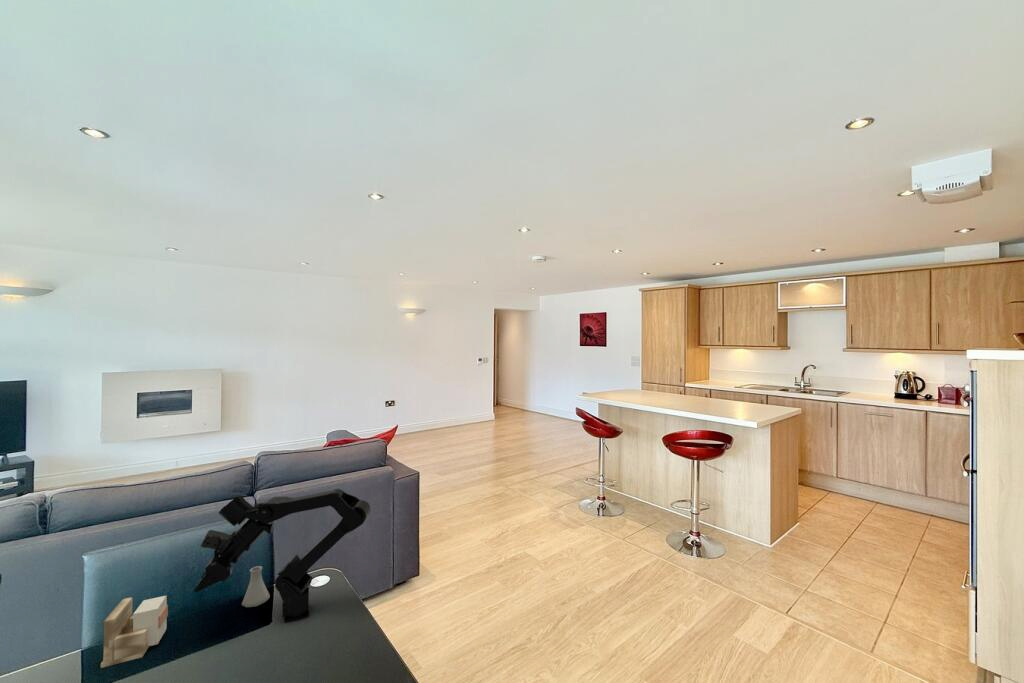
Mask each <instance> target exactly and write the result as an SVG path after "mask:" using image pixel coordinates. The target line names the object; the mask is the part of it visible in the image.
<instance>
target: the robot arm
mask: <svg viewBox="0 0 1024 683" xmlns="http://www.w3.org/2000/svg"><path fill="white" fill-rule="evenodd" d="M326 507H332V508H333V509H334V511H335V512H336V513H337V514H338V515H339V516H340V517H341V520H340V521H339V522H338V524H336V525H335V526H334V527H333V528H332V529H331V530H329V532H328V533H326V534H325V536H324V537H322V538H321V539H320V540H319V541H318V542H317V543H316V544H314V546H313V547H312V548H310V549H309V550H308V552H306V553H305V554H304V555H303V556H300V557H299V555H298V554H296V555H295V556H294V557H293V558H292V559H291V560H290V561H289V562H287V563H286V564H285V565H284V566H283V567H282V568H281V569H280V571H279V572H278V573H277V577H276V578H275V580H274V587H275V589H276V591H278V593H279V595H280V598H281V599H282V600H281V601H282V602H281V603H282V604H281V605H282V606H281V608H282V610H281V614H282V618H283V623H289V622H292V621H297V620H300V619H304V618H307V617H309V616H310V612H311V611H310V607H311V606H310V605H311V604H310V587H309V586H310V585H311V583H312V580H313V576H311V574H309V573H308V571H309V570H310V568H312V566H314V565H315V563H317V562H318V561H319V560H320V559H321V558H322V557H323V556H324V555H326V553H327V552H329V550H331V549H332V547H334V546H335V545H336V544H337V543H338V542H339V541H340V540H341V539H342V538H344V536H345V535H347V534H349V533H351V532H353V531H355V530H357V529H358V528H359V527H360V526H362V525H363V524H364V523H365V521H366V520H367V518H368V516H369V515H370V514H371V510H372V508H371V505H370V503H369V502H368V501H366V500H361V499H360V498H358V497H357V496H354V495H352V494H349V493H347V492H345V491H344V490H342V489H340V488H334V489H332V490H329V491H323V492H316V493H312V494H307V495H302V496H296V497H289V496H273V497H271V498H269V499H267V500H266V501H264V502H260V503H256V504H255V505H254V506H253V505H251V504H250V502H248V501H247V500H246V499H245V498H244V497H243V496H242V495H241V494H238V495H236V496H234V498H233V499H232V500H231V501H230V502H228V503H227V504H226V505H224V506H223V507H221V509H220V510H219V511H218V515H219V516H220V517H221V518H223V519H224V520H225V521H226V522H228V523H229V524H230V525H231V526H233V527H236V526H241V527H240V528H239V529H238V530H234V531H233V532H231V534H228V533H226V532H223V531H222V532H221V531H218V530H214V529H209V530H208V531H207V533H206V534H205V535H204V538H203V540H202V542H201V544H200V547H201V548H203V549H207V548H208V549H211V550H212V549H213V550H214V553H213V554H214V555H213V557H212V558H211V559H210V561H209V562H207V564H206V565H205V567H204V570H205V571H204V572H203V573H202V575H201V576H200V581H199V582H198V583H197V584H196V586H195V588H193V591H194V592H196V593H199V592H201V591H203V590H204V589H207V588H209V587H210V586H213V585H215V584H217V583H219V582H222V583H224V582H226V581H227V580H228V579H229V578H230V577H231V575H232V572H233V568H234V567H233V564H234V565H235V564H237V562H238V561H239V558H241V556H242V555H243V554H244V553H245V552H248V551H249V549H251V547H252V545H254V543H255V542H256V541H257V540H258V538H260V536H261V535H262V534H264V532H266V533H268V534H269V535H271V534H272V533H273V532H274V531H275V527H274V526H275V522H274V521H278V520H281V519H282V518H284V517H287V516H289V515H291V514H296V513H297V514H298V513H300V512H301V513H302V512H304V511H311V510H317V509H321V508H326ZM245 521H246V522H245ZM243 523H244V524H243ZM242 524H243V525H242ZM231 563H233V564H231Z"/></svg>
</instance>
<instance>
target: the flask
mask: <svg viewBox="0 0 1024 683" xmlns="http://www.w3.org/2000/svg"><path fill="white" fill-rule="evenodd" d="M262 570H263V566H261V565H260V566H258V565H257V566H254V567H252V568H250V569H249V573H250V579H249V583H248V586H247V589H246V592H245V594H244V597H243V599H242V602H241V606H242V607H245V608H252V607H258V606H260V605H262V604H264V603H266V602H267V601H268V600H269V599H270V597H271V595H270V592H269V591H268V589H267V587H266V584H265V582H264V579H263V576H262Z"/></svg>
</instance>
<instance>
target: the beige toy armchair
mask: <svg viewBox="0 0 1024 683" xmlns="http://www.w3.org/2000/svg"><path fill="white" fill-rule="evenodd" d="M149 648H150V646H148V647H147V629H144V630H140V631H136V632H133V596H132V597H126V598H123V599H122V600H121V601H120V602H119V603H118V604H117V605H116V606H115V608H114V609H113V610H112V611H111V612H110V614H108V616H107V617H106V618H105V619H104V621H103V660H102V661H101V663H100V669H102V668H103V669H104V668H107V667H111V666H114V665H117V664H121V663H125V662H130V661H133V660H136V659H141V658H143V657H144V655H145V654H146V652H147V650H148V649H149Z"/></svg>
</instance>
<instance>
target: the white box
mask: <svg viewBox="0 0 1024 683" xmlns="http://www.w3.org/2000/svg"><path fill="white" fill-rule="evenodd" d="M167 599H168V598H167V594H166V595H163V596H158V597H154V598H148V599H144V600H142V602H141V603H140V604H139V606H138V607H137V609H136V610H135V611H134V612H133V613H132V616H133V632H136V631H140V630H144V629H147V647H148V646H149V647H152V646H155V645H159V643H160V640H162V637H163V636H164V634H165V632H166V630H167V617H168V616H169V615H168V614H169V608H168V607H169V604H167V602H168V600H167ZM149 647H148V648H149Z"/></svg>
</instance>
